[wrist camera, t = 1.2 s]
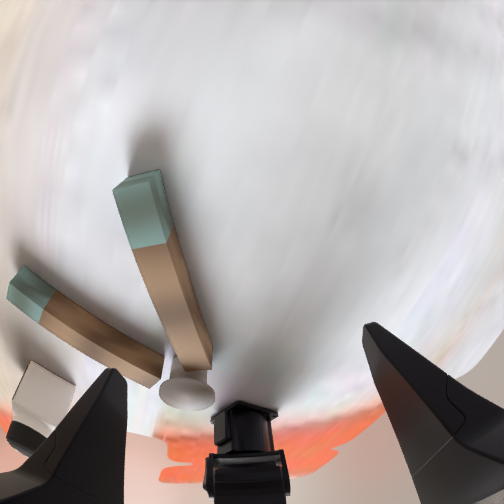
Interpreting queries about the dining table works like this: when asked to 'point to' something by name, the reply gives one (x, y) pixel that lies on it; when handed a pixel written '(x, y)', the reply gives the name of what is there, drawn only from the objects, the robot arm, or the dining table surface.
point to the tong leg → (163, 267)
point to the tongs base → (107, 343)
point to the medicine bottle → (38, 408)
